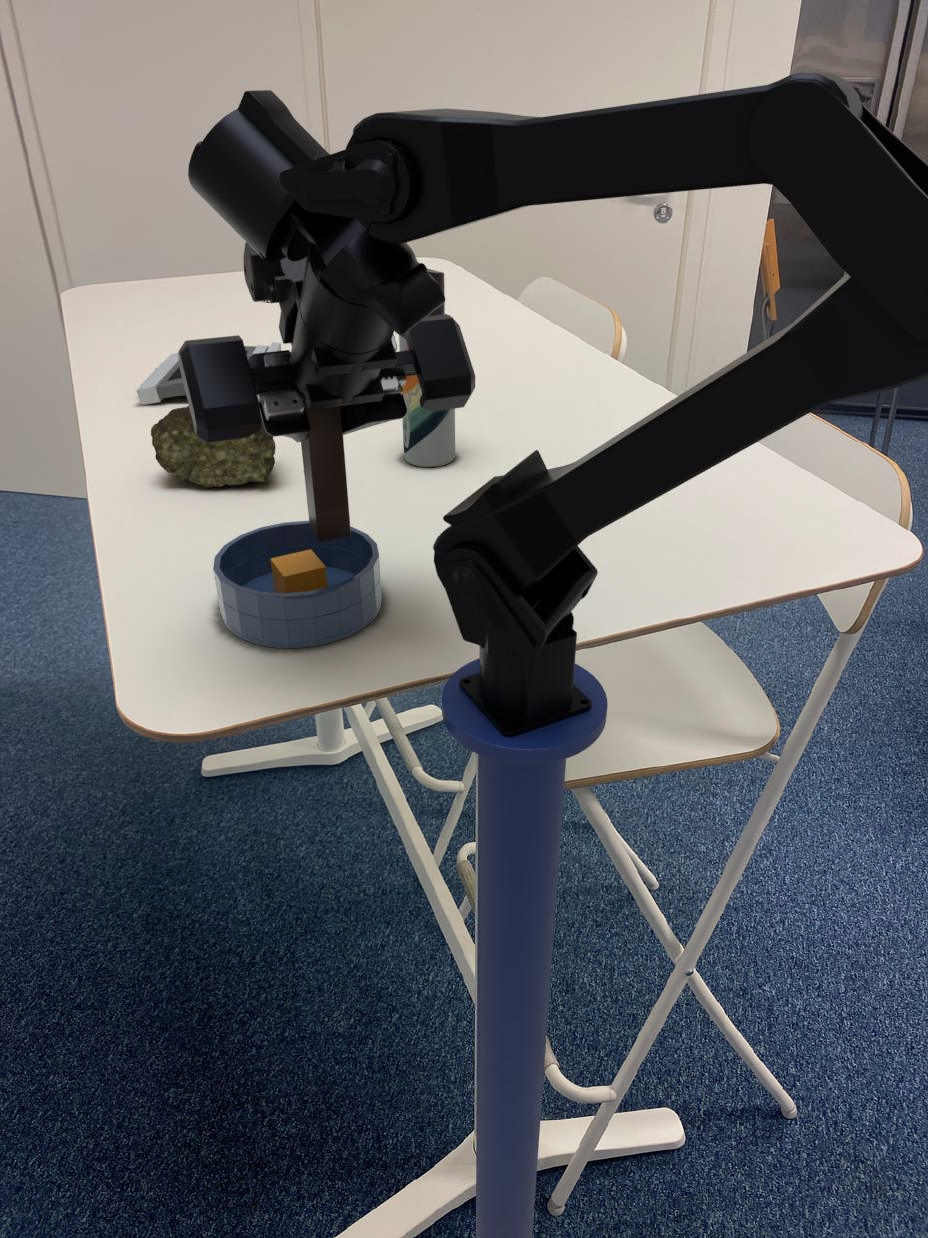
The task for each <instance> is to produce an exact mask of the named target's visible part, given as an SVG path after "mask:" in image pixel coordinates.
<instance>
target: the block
mask: <svg viewBox="0 0 928 1238" xmlns="http://www.w3.org/2000/svg"><path fill="white" fill-rule="evenodd" d="M270 560H271V568H272V575H273V583H274V590H275V593H294V592H306V591H313V590H318V589H322V588H326V587H328V585H327V575H326V567H325V565H324V564H323V563H322V562H321V561H320V559H319V558H318V557H317V556H316V555H315V553H314V552H313V551H312V550H311V549H310V550H306V551H302V552H297V553H293V554H288V555H284V556H279V557H275V558H271V559H270Z"/></svg>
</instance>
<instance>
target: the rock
mask: <svg viewBox="0 0 928 1238" xmlns="http://www.w3.org/2000/svg"><path fill="white" fill-rule="evenodd" d="M261 422H262V418H261ZM150 436H151V445H152V448H154V452H155V460H156V461H157V463H158V464H159V466H160V467H161V468H162V469H163V470H164V471H166V472H167V473H168V474H171V475H175V476H176V477H177V478H178V479H179V480H181V481H185V482H188V481H190V482H192V483H194V484H196V485H199V486H201V487H202V488H210V489H212V488H214V487H217V488H219V487H220V488H221V487H223V486H226V485H227V486H230V487H231V486H233V487H235V486H237V485H239V486H242V485H246V484H248V483H249V482H250V483H253V482H255V483H256V482H257V483H265V482H267V481H268V480H269V477H270V476H271V474H272V472H273V469H274V467H275V464H276V458H275V453H276V441H275V439H274V437H273V436H270V435H268V434H267V433H266V432H265V429H264V426H263V422H262V423H261V430H260V431H258V432H256V433H254V434H253V435H251V436H249V437H246V438H239V439H232V440H225V441H217V442H210V443H207V442H205V441H203V440H202V439H200V438H198V437H197V436H196V433H195V429H194V425H193V420H192V416H191V412H190V408H189V405H187V406H183V407H177V408H173V409H170V411H169V412H168V413H167V414H166V415H164V416H163V417H162V418H161V419H159V420H158V421H157V423H155V424H153V425H152V427H151V428H150Z"/></svg>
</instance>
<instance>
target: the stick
mask: <svg viewBox="0 0 928 1238" xmlns="http://www.w3.org/2000/svg"><path fill="white" fill-rule="evenodd" d="M305 410H306V413H307V417H308V421H309V424H310V428H311V431H310V433H309V434H308V436H307V438H306V439H305V440H304V441H302V442H300V447H301V455H302V466H303V474H304V485H305V495H306V502H307V503H306V504H307V513H308V521H309V523H310V529H311V531H312V532H313V534H314V535H315V537H316V538H317V540H318V542H321V541H326V540H332V539H337V538H343V537H348V536H351V529H350V526H351V518H350V517H351V516H350V506H349V493H348V479H347V468H346V467H347V465H346V455H345V454H346V453H345V442H344V435H343V428H342V416H341V406H337V407H329V408H322V409H314V410H309V408H308V404H307V403H306V405H305Z"/></svg>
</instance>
